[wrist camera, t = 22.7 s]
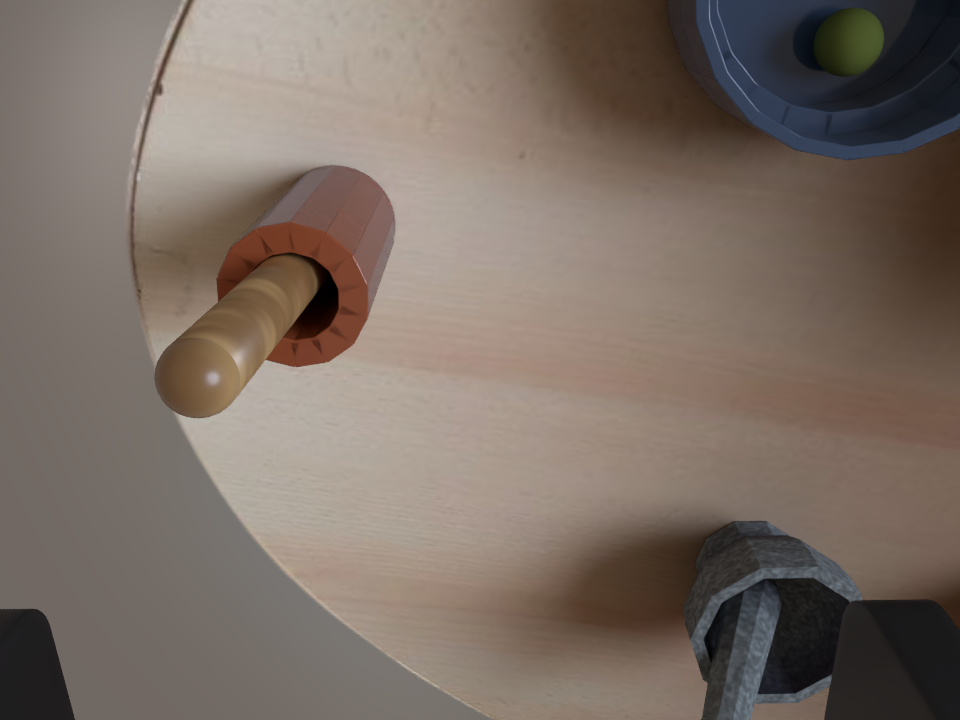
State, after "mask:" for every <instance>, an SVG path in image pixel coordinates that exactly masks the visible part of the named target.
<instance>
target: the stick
mask: <svg viewBox="0 0 960 720" xmlns="http://www.w3.org/2000/svg"><path fill="white" fill-rule="evenodd" d="M330 275H331V274H330V272H329V271H328V270H327V269H326V268H325V267H323V266H322V265H321V264H320V263H318V262H317V261H316V260H315V259H313V258H310V257H307V256H303V255H299V254H296V253H292V252H290V253H284V254H278V255H272V256H270V257H269V258H268V259H266V260H265V261H264V262H263V263H261V264H260V265H259V266H258V267H257V268H256V269H255V270H254V271H252V272H251V273H250V274H249V275H248V276H247V277H246V278H245V279H244V280H242V281H241V282H240V283H239V284H238V285H237V286H236V287H235V288H233V289H232V290H231V291H230V292H229V293H228V294H227V295H226V296H224V297H223V298H222V299H221V300H220V301H219V302H218V303H217V304H215V305H214V306H213V307H212V308H211V309H210V310H209V311H208V312H207V313H205V314H204V315H203V316H202V317H201V318H200V319H199V320H198V321H196V322H195V323H194V324H193V325H192V326H191V327H190V328H189V329H187V330H186V331H185V332H184V333H183V334H182V335H181V336H180V337H178V338H177V339H176V340H175V341H174V342H173V343H172V344H171V345H170V346H168V347H167V348H166V349H165V351H164V352H163V353H162V355H161V357H160V358H159V360H158V362H157V366H156V370H155V385H156V388H157V391H158V394H159V395H160V397H161V399H162V400H163V402H164V403H165V404H166V405H167V406H168V407H169V408H170V409H171V410H173V411H175V412H176V413H178V414H180V415H183V416H186V417H191V418H205V417H210V416H213V415H216V414H218V413H220V412H222V411H223V410H225V409H226V408H227V407H228V406H229V405H230V404H232V402H233V401H234V400H235V399H236V397H237V396H238V395H239V393H240V392H241V391H242V389H243V388H244V387H245V386H246V384H247V383H248V382H249V380H250V379H251V378H252V376H253V375H254V374H255V373H256V371H257V370H258V369H259V367H260V366H261V365H262V364H263V362H264V361H265V360H266V358H267V357H268V356H269V354H270V353H271V352H272V351H273V349H274V348H275V347H276V345H277V344H278V343H279V341H280V340H281V339H282V338H283V336H284V335H285V334H286V332H287V331H288V330H289V328H290V327H291V326H292V325H293V323H294V322H295V321H296V319H297V318H298V317H299V315H300V314H301V313H302V312H303V310H304V309H305V308H306V306H307V305H308V304H309V303H310V301H311V300H312V299H313V297H314V296H315V295H316V293H317V292H318V291H319V290H320V288H321V287H322V286H323V284H324V283H325V282H326V280H327V279H328V278H329V277H330Z"/></svg>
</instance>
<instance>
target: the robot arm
mask: <svg viewBox="0 0 960 720" xmlns="http://www.w3.org/2000/svg"><path fill="white" fill-rule="evenodd" d="M0 720H75V718H74V714H73V711H72V707H71V703H70V699H69V695H68V692H67V688H66V684H65V680H64V676H63V673H62V669H61V665H60V662H59V658H58V654H57V650H56V646H55V643H54V639H53V635H52V631H51V628H50V625H49V622H48V620H47V618H46V616H45V615H44V614H43V613H42V612H41V611H39V610H37V609H0ZM824 720H960V630H959V629H958V628H957V626H956V625H955V624H954V622H953V621H952V620H951V618H950V617H949V615H948V614H947V613H946V611H945V610H944V609H943V608H942V607H941V606H940V605H939V604H938V603H936V602H934V601H932V600H927V599H923V600H855V601H851V602H850V603H849V604H848V605H847V607H846V608H845V611H844V614H843V618H842V622H841V628H840V633H839V639H838V645H837V650H836V656H835V661H834V667H833V672H832V678H831V684H830V689H829V695H828V700H827V706H826V711H825V719H824Z"/></svg>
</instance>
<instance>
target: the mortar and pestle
mask: <svg viewBox="0 0 960 720" xmlns="http://www.w3.org/2000/svg"><path fill="white" fill-rule="evenodd" d="M695 565H696V569H697V572H698V576H697V578H696V580H695V582H694V584H693V586H692V588H691V590H690V592H689V595H688V597H687V599H686V601H685V604H684V617H685V625H686V628H687V631H688V634H689V637H690V640H691V643H692V647H693V650H694V653H695V656H696V659H697V662H698V665H699V668H700V671H701V675H702V678H703V680H704V681H706V682H707V683H708V686H707V692H706V698H705V704H704V710H703V715H702V719H701V720H750V719H751V715H752V711H753V708H754V704H755V703H798V702H800V701H802V700H804V699H806V698H808V697H810V696H812V695H814V694H815V693H817V692H819V691H821V690H823V689H825V688H827V687H829V686H830V684H831V678H832V672H833V667H834V661H835V656H836V650H837V645H838V639H839V633H840V628H841V622H842V618H843V614H844V611H845V608H846V607H847V605H848V604H849V603H850V602H851V601H855V600H862V596H861V593H860V591H859V590H858V588H857V587H856V585H855V583H854V582H853V580H852V579H851V578H850V576H849V575H848V574H847V573H846V572H845V571H844V570H843V569H842V568H841V567H840V566H839V565H838V564H837V563H835V562H834V561H832V560H830V559H829V558H827V557H826V556H824V555H823V554H821V553H820V552H818V551H817V550H815V549H813V548H812V547H810V546H809V545H807V544H806V543H804V542H803V541H801V540H800V539H797V538H793V537H790V536H788V535H787V534H785V533H784V532H782V531H780V530H779V529H777V528H776V527H774V526H773V525H771V524H770V523H768V522H766V521H749V522H733V523H731V524H729V525H728V526H726V527H724V528H723V529H721V530H719V531H718V532H716V533H714V534H713V535H711V536H709V537H708V538H707V539H706V541H705V543H704V545H703V547H702V549H701V551H700V553H699V555H698V557H697V559H696V561H695Z"/></svg>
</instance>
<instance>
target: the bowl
mask: <svg viewBox="0 0 960 720" xmlns="http://www.w3.org/2000/svg"><path fill="white" fill-rule="evenodd" d="M667 7H668V21H669V24H670V27H671V29H672V32H673V35H674V38H675V41H676V43H677V46H678V49H679V52H680V54H681V57H682V60H683V63H684V65H685V68H686V69H687V71H688V72H689V73H690V74H691V76H692V77H693V78H694V79H695V81H696V82H697V83H698V84H699V85H700V87H701V88H702V89H703V90H704V92H705V93H706V94H707V95H708V97H709V98H710V99H711V100H712V102H713V103H714V104H715V105H717V107H719V108H720V109H722V110H724V111H725V112H727V113H729V114H730V115H732V116H734V117H735V118H737V119H739V120H740V121H742V122H744V123H745V124H747V125H749V126H750V127H752V128H754V129H755V130H757V131H759V132H761V133H763V134H765V135H767V136H769V137H771V138H773V139H775V140H777V141H778V142H780V143H782V144H784V145H786V146H788V147H790V148H792V149H794V150H797V151H802V152H807V153H812V154H817V155H822V156H828V157H833V158H838V159H843V160H854V159H862V158H869V157H877V156H885V155H893V154H901V153H905V152H908V151H910V150H912V149H914V148H917V147H919V146H921V145H924V144H926V143H928V142H930V141H933V140H935V139H937V138H939V137H942V136H944V135H946V134H949V133H951V132H953V131H955V130H958V128H960V0H667ZM846 8H861V9H864V10H867V11H869V12H871V13H872V14H873V15H875V16H876V17H877V19H878V20H879V21H880V23H881V25H882V28H883V32H884V43H883V48H882V51H881V53H880V55H879V57H878V58H877V60H876V61H875V62H874V63H873V64H872V65H871V66H870V67H869V68H868V69H867V70H865V71H863V72H862V73H859V74H857V75H854V76H849V77H840V76H835V75H832V74H830V73H828V72H826V71H825V70H824V69H823V68H822V67H821V66H820V65H819V64H818V62H817V60H816V58H815V54H814V39H815V35H816V33H817V31H818V29H819V27H820V25H821V24H822V23H823V22H824V21H825V20H826V19H827V18H828V17H829V16H830V15H832V14H833V13H835V12H837V11H839V10H842V9H846Z"/></svg>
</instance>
